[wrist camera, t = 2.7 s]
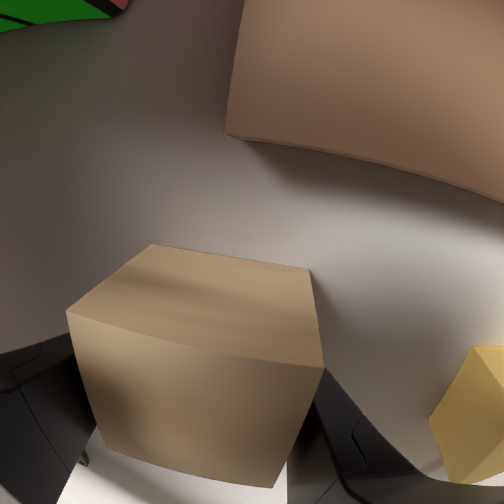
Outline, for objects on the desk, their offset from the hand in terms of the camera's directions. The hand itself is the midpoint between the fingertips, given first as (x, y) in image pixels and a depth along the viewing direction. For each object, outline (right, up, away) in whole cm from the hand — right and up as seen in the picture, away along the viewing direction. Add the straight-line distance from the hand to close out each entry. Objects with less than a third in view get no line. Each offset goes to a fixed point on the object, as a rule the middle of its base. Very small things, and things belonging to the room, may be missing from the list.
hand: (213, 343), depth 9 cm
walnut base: (+8, +11, -3) cm, 13 cm away
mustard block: (+12, -4, +1) cm, 13 cm away
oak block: (0, 0, +1) cm, 1 cm away
